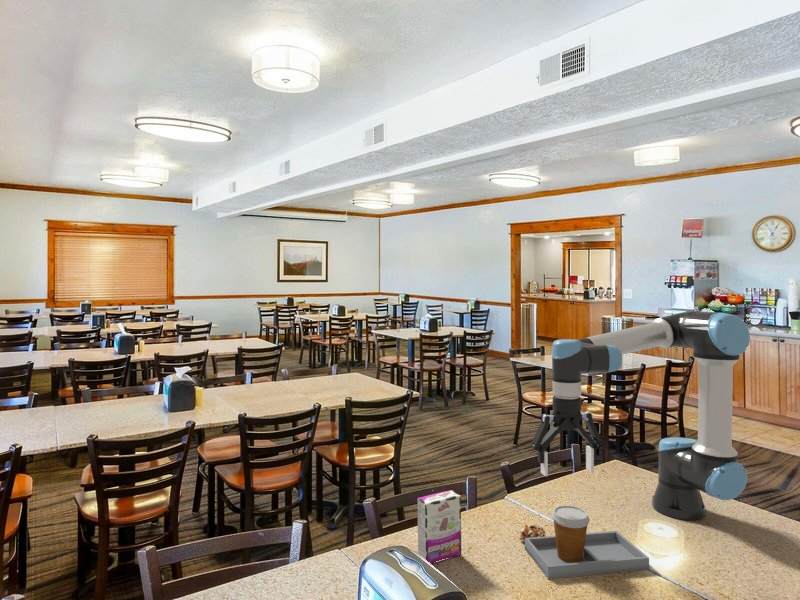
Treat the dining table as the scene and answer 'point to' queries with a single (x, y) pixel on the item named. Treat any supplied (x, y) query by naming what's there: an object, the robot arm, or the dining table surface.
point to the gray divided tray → (588, 556)
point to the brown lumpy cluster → (532, 532)
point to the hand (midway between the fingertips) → (567, 472)
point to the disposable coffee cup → (570, 532)
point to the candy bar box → (439, 526)
